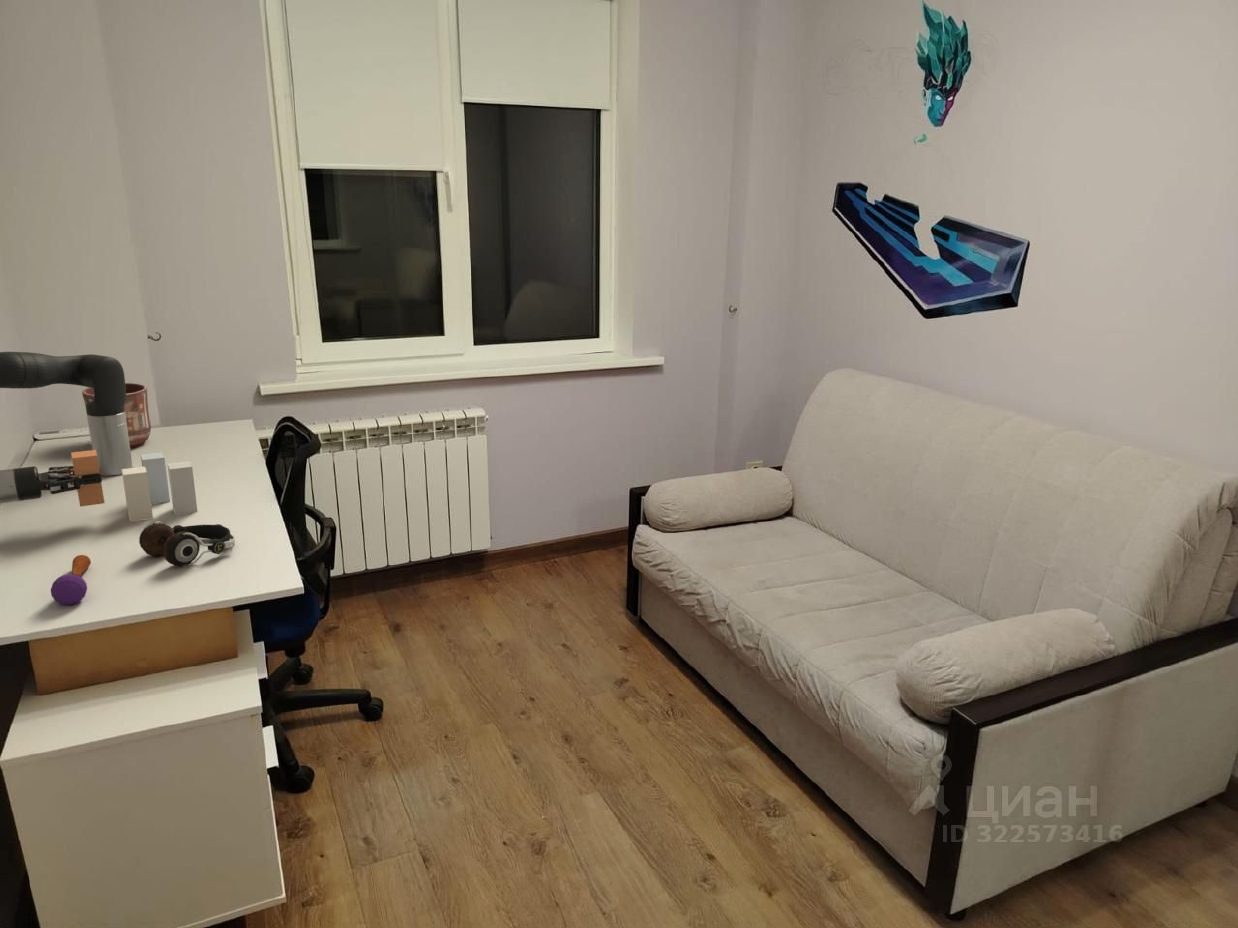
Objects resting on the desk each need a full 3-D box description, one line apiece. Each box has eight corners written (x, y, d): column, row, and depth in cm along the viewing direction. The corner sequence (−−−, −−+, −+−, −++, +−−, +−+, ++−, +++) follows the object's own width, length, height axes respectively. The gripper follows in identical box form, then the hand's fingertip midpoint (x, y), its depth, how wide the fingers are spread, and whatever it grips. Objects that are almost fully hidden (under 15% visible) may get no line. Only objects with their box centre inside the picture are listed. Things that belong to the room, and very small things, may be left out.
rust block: (79, 500, 206) (71, 452, 202) (103, 496, 208) (95, 449, 204) (80, 506, 202) (71, 458, 198) (104, 503, 204) (96, 455, 200)
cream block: (128, 515, 212) (121, 469, 209) (150, 511, 215) (144, 466, 211) (130, 521, 208) (123, 474, 205) (153, 518, 211) (146, 472, 207)
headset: (129, 520, 188) (212, 508, 205) (128, 554, 189) (211, 539, 206) (175, 538, 179) (258, 524, 197) (174, 573, 181) (257, 556, 198)
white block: (146, 498, 224) (140, 454, 220) (167, 495, 226) (162, 452, 223) (148, 504, 220) (142, 460, 216) (170, 501, 222) (164, 457, 219)
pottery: (76, 447, 263) (67, 390, 258) (127, 434, 279) (120, 380, 273) (117, 456, 257) (109, 398, 251) (167, 442, 272) (160, 387, 267)
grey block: (173, 508, 217) (167, 463, 214) (194, 505, 220) (189, 461, 216) (175, 514, 213) (169, 469, 210) (197, 511, 216) (192, 466, 212)
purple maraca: (99, 549, 183) (86, 580, 165) (96, 576, 184) (83, 609, 166) (66, 548, 180) (49, 579, 163) (64, 575, 181) (47, 609, 163)
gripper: (10, 478, 188) (100, 467, 197) (12, 460, 200) (96, 451, 209) (17, 510, 191) (105, 498, 200) (18, 490, 202) (101, 480, 211)
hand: (100, 474), depth 204 cm, fingers closed on rust block, 5 cm apart
